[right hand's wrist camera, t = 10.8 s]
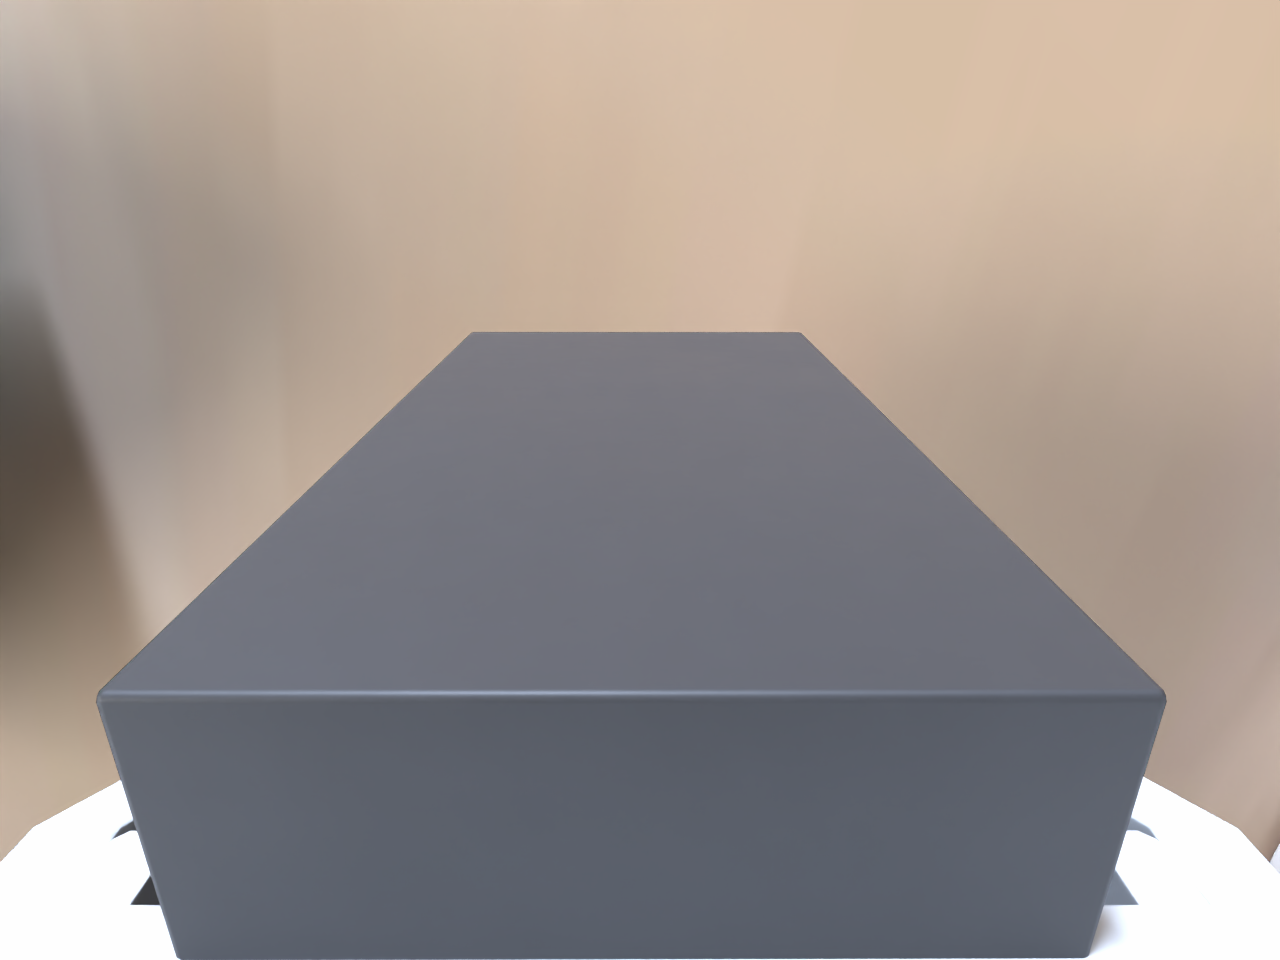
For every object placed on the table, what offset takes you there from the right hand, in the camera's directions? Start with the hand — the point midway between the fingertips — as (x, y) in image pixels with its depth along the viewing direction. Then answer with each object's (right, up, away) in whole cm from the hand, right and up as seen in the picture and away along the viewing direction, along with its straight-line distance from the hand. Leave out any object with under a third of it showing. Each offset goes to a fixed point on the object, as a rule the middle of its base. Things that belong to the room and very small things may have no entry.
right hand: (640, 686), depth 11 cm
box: (0, -6, +8) cm, 10 cm away
